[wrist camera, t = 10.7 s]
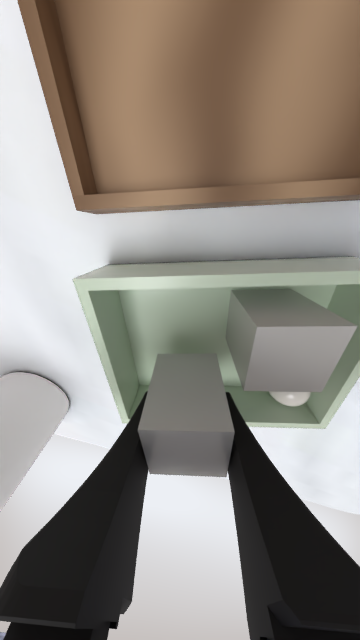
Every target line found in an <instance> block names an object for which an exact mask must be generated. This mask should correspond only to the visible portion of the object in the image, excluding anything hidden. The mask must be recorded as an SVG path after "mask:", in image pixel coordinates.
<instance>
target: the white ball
mask: <svg viewBox="0 0 360 640" xmlns="http://www.w3.org/2000/svg"><path fill="white" fill-rule="evenodd" d="M269 393H270V394H271V396H272V397H273V398H274V399H275V400H276V401H278V402H279V403H281V404H283V405H286V406H300V405H302V404H304V403H305V402H306V401H307V400H308V399H309V397H310V394H311V392H276V391H269Z"/></svg>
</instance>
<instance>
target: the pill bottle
mask: <svg viewBox="0 0 360 640" xmlns="http://www.w3.org/2000/svg"><path fill="white" fill-rule="evenodd" d="M68 409H69V401H68V398H67V396H66V395H65V393H64V392H63V391H62V390H61V389H60V388H59V387H58V386H57V385H55V384H54V383H52V382H51V381H49V380H47V379H45V378H43V377H40V376H38V375H34V374H30V373H25V372H14V373H9V374H6V375H4V376H2V377H0V512H1V510H2V509H3V507H4V506H5V504H6V503H7V501H8V500H9V498H10V497H11V495H12V494H13V493H14V491H15V490H16V488H17V487H18V485H19V484H20V482H21V481H22V479H23V477H24V476H25V475H26V473H27V472H28V470H29V469H30V467H31V466H32V465H33V463H34V462H35V460H36V459H37V457H38V456H39V454H40V453H41V451H42V450H43V448H44V447H45V445H46V444H47V442H48V441H49V439H50V438H51V437H52V435H53V434H54V432H55V431H56V429H57V428H58V426H59V425H60V423H61V422H62V420H63V419H64V417H65V415H66V414H67V412H68Z"/></svg>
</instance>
